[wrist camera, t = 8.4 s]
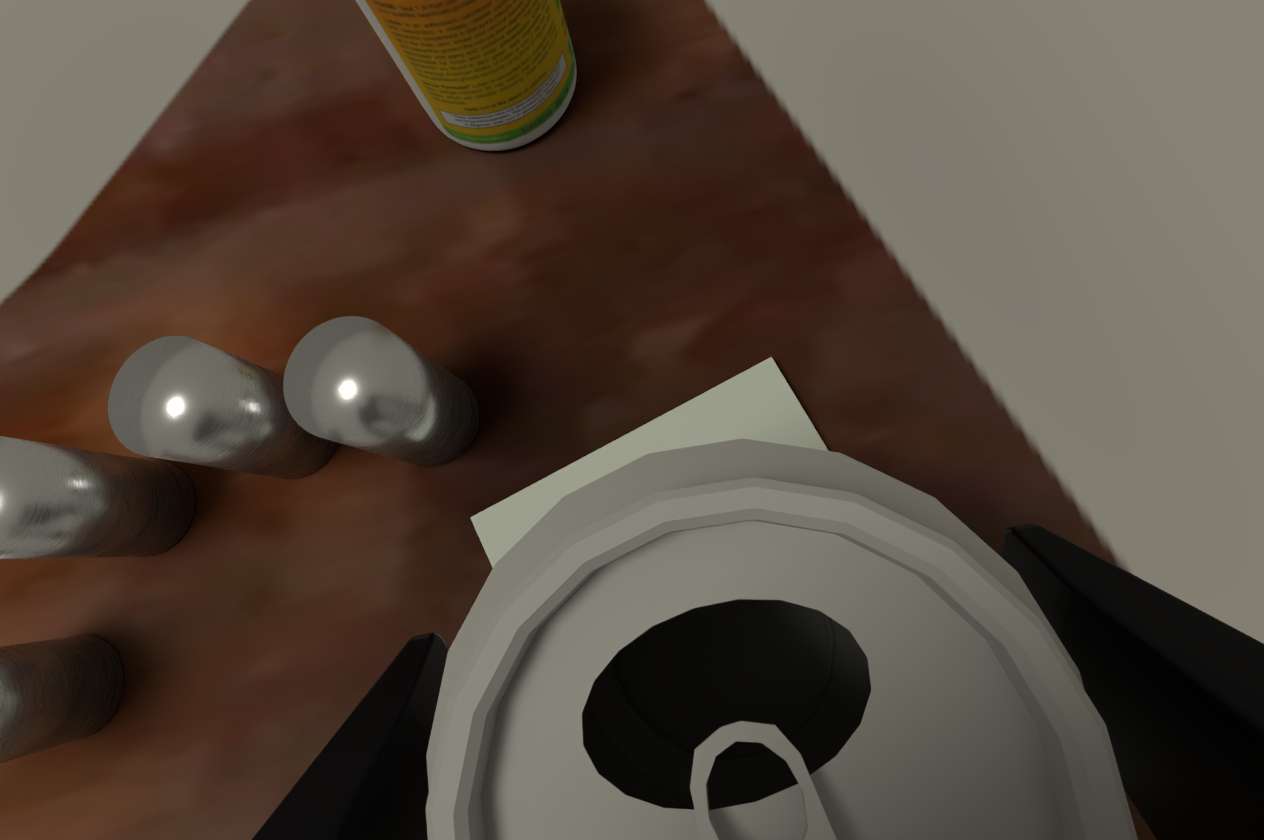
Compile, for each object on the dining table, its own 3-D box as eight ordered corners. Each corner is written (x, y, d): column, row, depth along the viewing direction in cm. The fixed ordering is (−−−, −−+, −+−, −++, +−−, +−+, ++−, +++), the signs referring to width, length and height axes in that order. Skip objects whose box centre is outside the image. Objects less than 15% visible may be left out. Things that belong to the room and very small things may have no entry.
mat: (1008, 754, 16) (1015, 759, 16) (662, 936, 16) (661, 946, 16) (769, 360, 19) (771, 356, 18) (474, 518, 19) (470, 517, 18)
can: (804, 463, 18) (1008, 306, 6) (908, 741, 16) (1465, 1266, 4) (551, 544, 18) (277, 546, 6) (629, 825, 16) (456, 1526, 5)
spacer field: (512, 661, 18) (441, 704, 13) (32, 747, 19) (-199, 816, 14) (470, 348, 20) (395, 285, 15) (39, 442, 21) (-162, 410, 16)
